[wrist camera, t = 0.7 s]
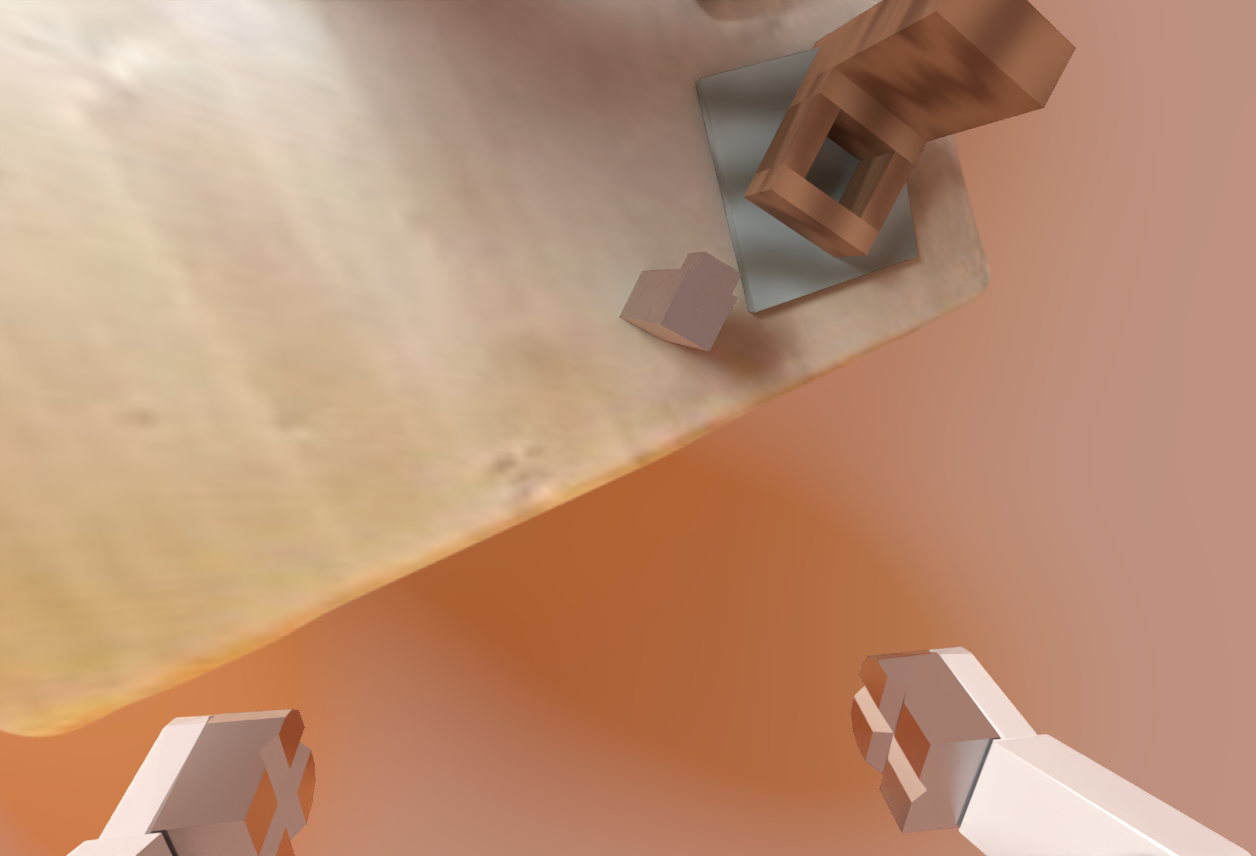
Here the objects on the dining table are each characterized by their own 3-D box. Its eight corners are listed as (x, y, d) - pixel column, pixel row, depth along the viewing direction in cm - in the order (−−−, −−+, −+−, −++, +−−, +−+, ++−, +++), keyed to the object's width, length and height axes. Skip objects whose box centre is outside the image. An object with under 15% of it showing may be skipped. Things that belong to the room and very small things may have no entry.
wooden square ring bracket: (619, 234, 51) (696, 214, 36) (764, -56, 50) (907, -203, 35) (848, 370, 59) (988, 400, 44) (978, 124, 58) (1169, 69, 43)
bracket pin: (619, 316, 53) (660, 324, 43) (651, 254, 52) (698, 247, 43) (661, 339, 54) (709, 351, 45) (692, 278, 54) (747, 277, 44)
